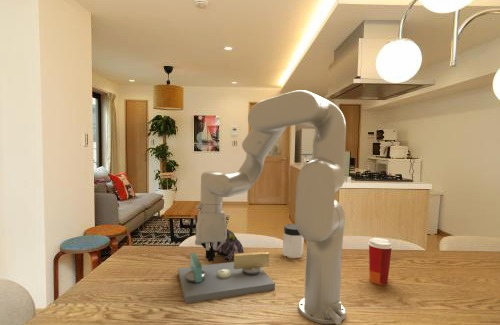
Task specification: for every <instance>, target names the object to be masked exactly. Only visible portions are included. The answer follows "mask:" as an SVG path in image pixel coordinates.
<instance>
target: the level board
mask: <svg viewBox="0 0 500 325" xmlns="http://www.w3.org/2000/svg"><path fill="white" fill-rule="evenodd" d="M201 266H202V271H204V272H205V280H204V281H202V282H199V283H190V282H188V281H187V280H186V274H187V272H189V271H192V270H191V267H190V266H188V267H187V266H186V267H181V268H180V267H178V269H177V270H178V271H177V272H178V278H180V279H179V282H180V287H182V288H181V291H182V296H183V300H184V304H191V303H192V304H193V303H198V302H204V301H210V300H216V299H224V298H229V297H235V296H242V295H247V294H254V293H260V292H261V293H262V292H267V291H268V292H269V291H272V290H273V291H274V290H275V289H276V288H275V287H276V286H275V285H276V283H275V282H274V281H273V279H271V277H270V276H269V275H268V274H267V273H266V271H265V270H263V269H262V268H263V267H260V273H259V274H257V275H246V274H244V273H243V272H242V269H234V261H231V262H229V261H228V262H222V263H221V262H220V263H212V264H205V265H204V264H203V265H201Z"/></svg>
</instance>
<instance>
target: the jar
mask: <svg viewBox="0 0 500 325" xmlns="http://www.w3.org/2000/svg"><path fill="white" fill-rule="evenodd" d="M304 241H305V239H304V238H303V237H302V236H301V235H300V233H299V232H298V230H297V227H296V223H292V224H291V223H289V224H285V225H284V226H283V235H282V256H284V257H286V256H287V258H289V259H301V258H302V257H303V256H304Z"/></svg>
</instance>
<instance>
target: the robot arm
mask: <svg viewBox="0 0 500 325" xmlns="http://www.w3.org/2000/svg"><path fill="white" fill-rule="evenodd" d="M247 122H248V124H249V127H250V130H249V132H248V133H247V135H246V137H245V138H244V140H243V141H242V143H241V147H242V150H243V151H244V152H245V153H246V154H245V155H246V157H245V160H244V161H243V163H242V165H241V166H240V168H239V169H238V170H237V171H235V172H234V171H233V172H227V173H222V172H220V171H204V172H202V173H201V176H200V202H199V204H196V205H195V208H196V210H198V213H197V215H196V216H197V217H196V224H195V225H196V226H195V240H194V244H195V245H196V246H202V247H203V249H205V259H206V260H207V261H208V262H209V263H210V262H214V260H215V258H216V253H215V250H216V248H217V247H218V246H219V245H220V244H222V243H225V242H226V237H227V218H226V212H225V211H224V210H223V208H224V207H223V205H224V204H223V203H224V202H223V199H224V198H231V197H233V196H236V195H237V196H238V195H242V194H244V193H247V192H248V191H249V190H250V189H251V188H252V187H253V185H254V184H255V183H256V182H257V180H258V178H259V177H260V175H261V173H262V171H263V168H264V166H265V165H264V164H265V160H266V157H267V156H268V155H269V153H270V151H272V149H273V147H274V146H275V145H276V143H277V142H278V140H279V139H280V137H281V136H282V134H283V133H284V132H285V131H286V129H287V127H293V126H297V125H301V126H302V125H303V126H310V127H312V128H314V136H313V139H312V155H311V156H312V157H311V160H310V161H308V162H306V163H305V164H304V165H303V166H302V167H301V168H300V170H299V173H298V175H297V179H296V190H295V191H296V192H295V193H296V194H295V216H294V217H295V218H294V220H295V224H296V227H297V230H298V232H299V233H300V235H301V236H302V237H303V238H304V240H306V245H305V248H306V250H305V268H304V269H305V272H304V273H305V274H304V278H305V279H304V297H303V298H302V299H300V300H299V302H298V311H299V312H300V314H301V315H302V316H303V317H304V318H306V319H307V320H309V321H310V322H314V323H317V324H323V325H332V324H333V325H341V323H342V321H343V320H345V319H346V318H347V314H346V308H345V307H344V306H343V305H342V302H341V283H342V260H343V258H342V256H343V244H344V243H343V242H344V233H345V226H346V225H345V224H346V214H345V210H344V208H343V206H342V204H341V203H340V202H339V201H337V199H336V196H335V195H336V192H337V191H339V190H340V189H341V187H343V185H344V183H345V166H346V165H345V164H346V139H347V124H346V118H345V116H344V114H343V112H342V111H341V109H340V108H339V107H338V106H337V105H336V104H335V103H333V102H332V101H330V100H328V99H326V98H324V97H322V96H320V95H318V94H316V93H313V92H311V91H308V90H304V89H303V90H302V89H300V90H293V91H290V92H287V93H283V94H281V95H276V96H273V97H270V98H267V99H263V100H260V101H258V102H257V103H255V104H253V106H252V107H251V108H250V110H249V111H248V115H247ZM210 242H212V245H211V247H210Z"/></svg>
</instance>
